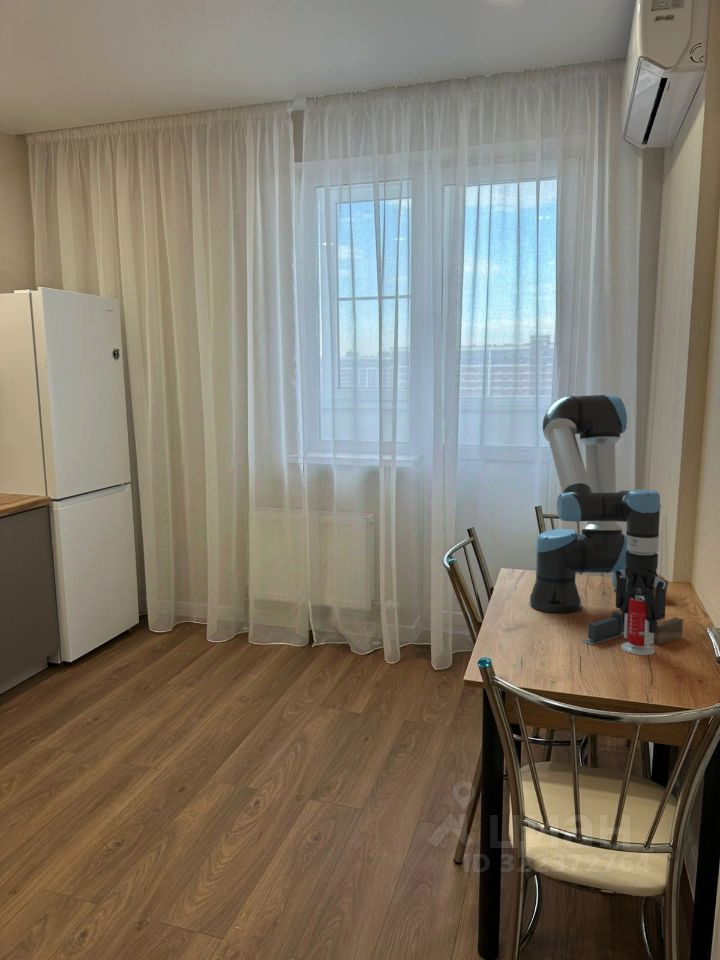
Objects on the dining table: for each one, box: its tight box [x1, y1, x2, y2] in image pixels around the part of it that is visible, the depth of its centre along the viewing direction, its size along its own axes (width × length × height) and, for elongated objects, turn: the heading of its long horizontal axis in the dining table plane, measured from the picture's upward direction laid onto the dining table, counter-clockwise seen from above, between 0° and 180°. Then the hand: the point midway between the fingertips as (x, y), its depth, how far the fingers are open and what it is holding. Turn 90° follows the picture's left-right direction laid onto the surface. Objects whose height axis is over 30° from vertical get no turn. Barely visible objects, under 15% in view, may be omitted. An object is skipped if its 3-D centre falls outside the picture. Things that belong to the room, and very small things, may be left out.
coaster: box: [621, 641, 656, 656], centre depth 170 cm, size 8×8×1 cm
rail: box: [581, 632, 624, 646], centre depth 181 cm, size 3×25×1 cm, turn 122°
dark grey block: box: [587, 610, 624, 641], centre depth 178 cm, size 3×12×5 cm, turn 122°
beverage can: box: [627, 594, 648, 646], centre depth 169 cm, size 5×5×12 cm
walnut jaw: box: [652, 617, 684, 646], centre depth 175 cm, size 2×10×5 cm, turn 122°
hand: (638, 640), depth 170 cm, fingers closed on beverage can, 5 cm apart
